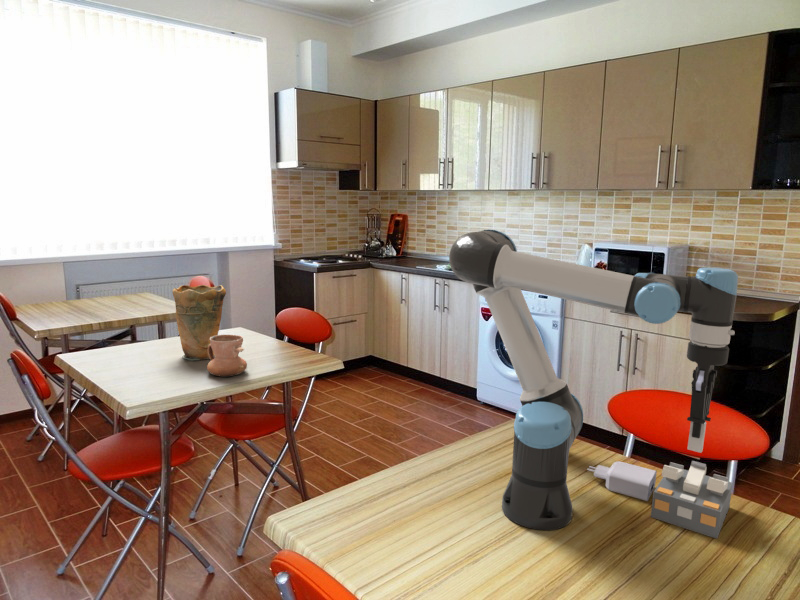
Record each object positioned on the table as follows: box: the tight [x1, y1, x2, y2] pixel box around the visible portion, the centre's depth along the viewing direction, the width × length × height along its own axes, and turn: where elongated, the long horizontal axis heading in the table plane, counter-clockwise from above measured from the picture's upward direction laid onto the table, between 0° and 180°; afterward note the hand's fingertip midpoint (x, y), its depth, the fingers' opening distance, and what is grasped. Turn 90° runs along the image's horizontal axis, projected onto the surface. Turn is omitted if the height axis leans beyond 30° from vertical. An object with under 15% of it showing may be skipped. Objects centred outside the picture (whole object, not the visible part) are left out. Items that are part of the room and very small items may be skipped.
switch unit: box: [650, 469, 733, 539], centre depth 128 cm, size 16×13×7 cm
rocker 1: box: [661, 461, 685, 480], centre depth 130 cm, size 8×3×2 cm, turn 143°
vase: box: [172, 284, 227, 361], centre depth 240 cm, size 21×20×30 cm
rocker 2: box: [683, 460, 707, 495], centre depth 128 cm, size 8×3×2 cm, turn 143°
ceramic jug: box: [206, 334, 248, 377], centre depth 219 cm, size 18×14×14 cm
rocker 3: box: [707, 473, 729, 493], centre depth 125 cm, size 8×3×2 cm, turn 143°
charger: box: [586, 460, 658, 502], centre depth 140 cm, size 5×9×15 cm
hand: (694, 449), depth 124 cm, fingers closed
